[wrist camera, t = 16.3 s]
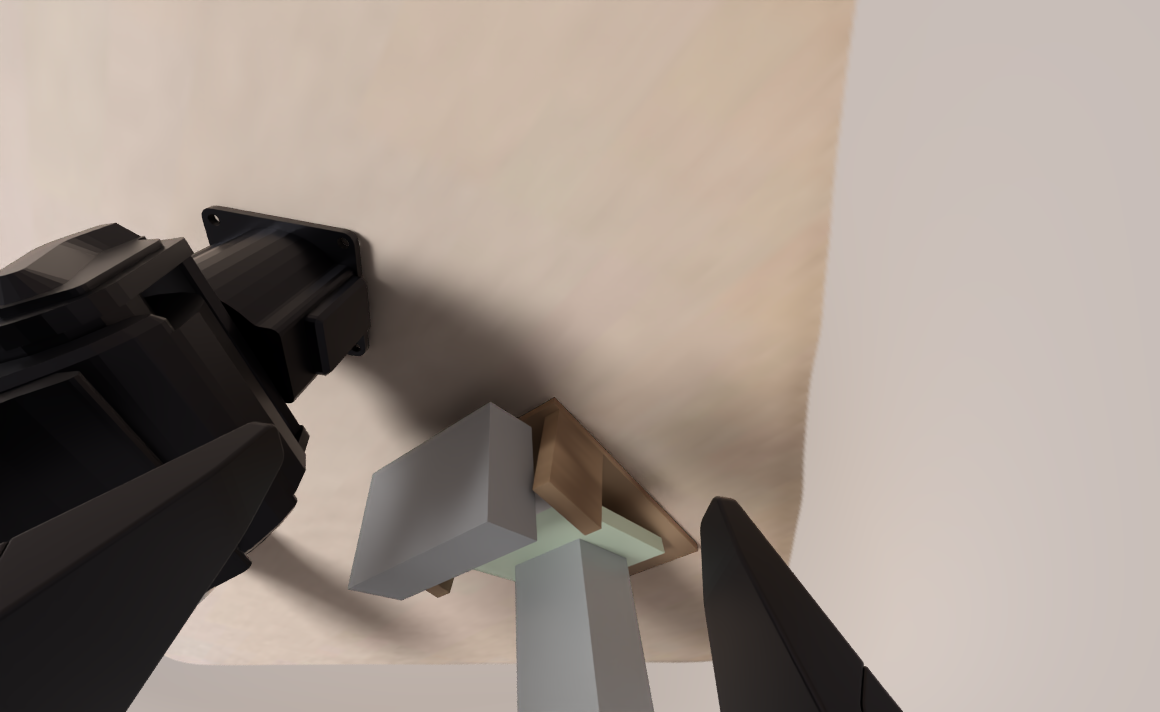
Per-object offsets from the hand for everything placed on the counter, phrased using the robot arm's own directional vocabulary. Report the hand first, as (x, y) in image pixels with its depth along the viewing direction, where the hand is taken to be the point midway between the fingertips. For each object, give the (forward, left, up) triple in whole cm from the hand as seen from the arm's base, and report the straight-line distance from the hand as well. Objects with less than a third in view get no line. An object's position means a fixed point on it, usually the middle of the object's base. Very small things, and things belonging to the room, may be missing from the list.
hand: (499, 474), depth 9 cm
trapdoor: (0, -16, -13) cm, 20 cm away
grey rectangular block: (+4, -19, -10) cm, 22 cm away
